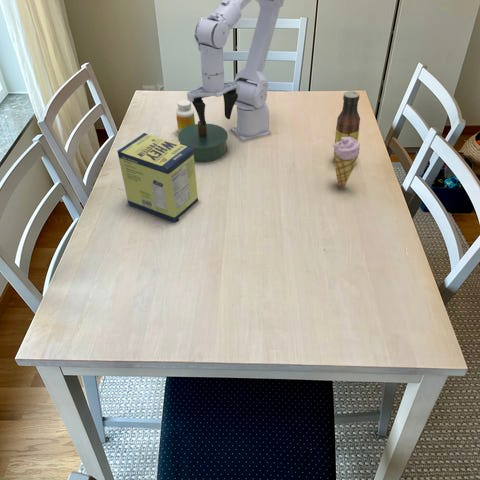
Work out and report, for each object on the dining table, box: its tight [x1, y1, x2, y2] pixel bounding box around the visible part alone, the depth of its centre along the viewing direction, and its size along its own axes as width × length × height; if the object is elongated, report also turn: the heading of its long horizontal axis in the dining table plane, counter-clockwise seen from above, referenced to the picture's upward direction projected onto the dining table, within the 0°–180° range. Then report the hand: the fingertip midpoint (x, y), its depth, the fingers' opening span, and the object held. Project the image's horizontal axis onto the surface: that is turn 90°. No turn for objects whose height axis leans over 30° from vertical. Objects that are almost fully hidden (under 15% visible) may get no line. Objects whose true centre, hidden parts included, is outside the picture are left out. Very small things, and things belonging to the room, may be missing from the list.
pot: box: [179, 140, 228, 163], centre depth 145 cm, size 13×14×5 cm
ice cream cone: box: [331, 137, 361, 189], centre depth 128 cm, size 7×6×15 cm
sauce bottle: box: [333, 90, 361, 163], centre depth 135 cm, size 7×6×20 cm
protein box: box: [116, 132, 199, 223], centre depth 124 cm, size 10×16×16 cm
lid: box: [177, 120, 229, 149], centre depth 142 cm, size 14×14×5 cm
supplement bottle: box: [175, 99, 196, 134], centre depth 152 cm, size 5×5×10 cm
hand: (215, 120), depth 139 cm, fingers open, 7 cm apart
